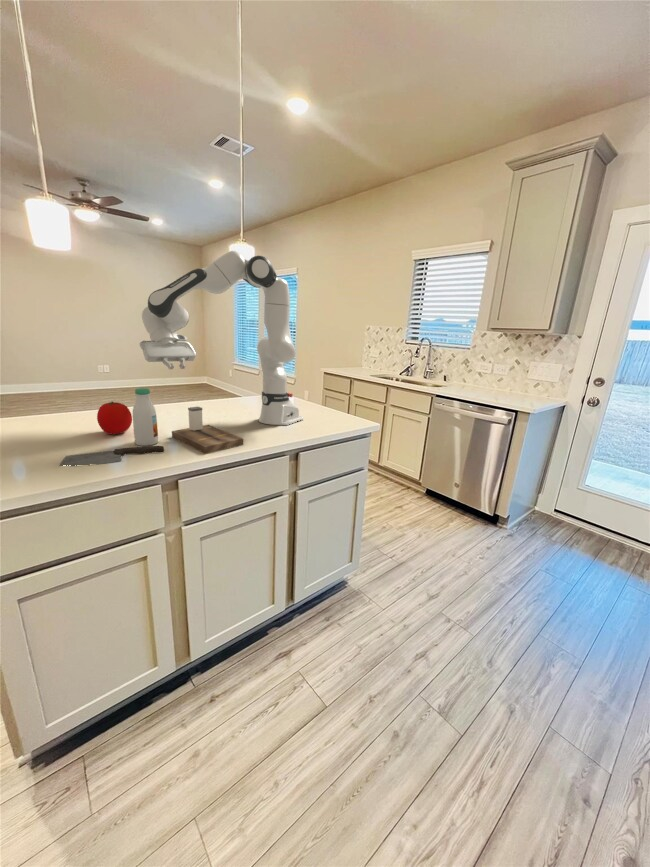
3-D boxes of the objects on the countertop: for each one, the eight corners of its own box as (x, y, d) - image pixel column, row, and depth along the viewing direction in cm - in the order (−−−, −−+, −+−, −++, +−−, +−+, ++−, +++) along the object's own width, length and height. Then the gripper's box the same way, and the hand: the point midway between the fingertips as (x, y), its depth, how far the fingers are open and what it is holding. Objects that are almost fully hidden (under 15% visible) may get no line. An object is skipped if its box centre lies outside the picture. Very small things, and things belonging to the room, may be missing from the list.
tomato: (111, 428, 144) (107, 397, 140) (139, 430, 144) (136, 399, 140) (90, 437, 132) (86, 404, 128) (121, 439, 132) (117, 406, 128)
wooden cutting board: (208, 430, 149) (208, 424, 149) (243, 444, 135) (243, 438, 134) (172, 437, 138) (171, 430, 137) (205, 453, 123) (205, 446, 122)
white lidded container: (198, 427, 143) (197, 406, 140) (203, 428, 141) (202, 407, 138) (189, 428, 140) (188, 407, 137) (193, 430, 138) (192, 409, 135)
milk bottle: (149, 447, 125) (144, 391, 120) (130, 444, 127) (124, 389, 121) (163, 441, 133) (159, 388, 127) (144, 438, 134) (140, 386, 128)
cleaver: (163, 448, 126) (162, 442, 126) (166, 457, 118) (166, 451, 118) (62, 459, 112) (61, 453, 111) (58, 470, 104) (56, 464, 103)
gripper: (139, 335, 135) (153, 364, 132) (189, 336, 150) (203, 362, 147) (135, 346, 139) (149, 374, 136) (185, 346, 154) (197, 371, 151)
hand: (177, 368), depth 141 cm, fingers open, 3 cm apart
